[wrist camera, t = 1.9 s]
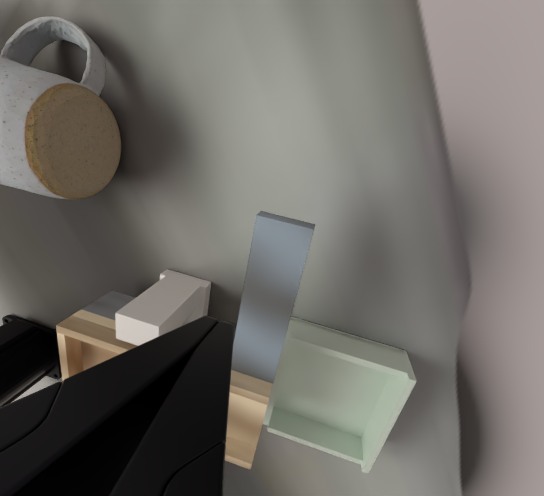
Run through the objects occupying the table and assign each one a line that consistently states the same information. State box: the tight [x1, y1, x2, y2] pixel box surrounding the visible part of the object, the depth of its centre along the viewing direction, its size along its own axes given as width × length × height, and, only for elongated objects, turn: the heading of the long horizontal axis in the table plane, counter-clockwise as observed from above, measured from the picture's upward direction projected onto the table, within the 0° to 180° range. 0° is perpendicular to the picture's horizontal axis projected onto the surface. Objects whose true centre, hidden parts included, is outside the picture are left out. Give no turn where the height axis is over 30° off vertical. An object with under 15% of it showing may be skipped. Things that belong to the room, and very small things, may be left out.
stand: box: [115, 269, 211, 346], centre depth 22 cm, size 12×4×6 cm, turn 168°
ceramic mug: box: [0, 16, 121, 199], centre depth 17 cm, size 11×8×8 cm
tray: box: [263, 317, 417, 474], centre depth 22 cm, size 10×9×3 cm
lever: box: [56, 211, 315, 470], centre depth 19 cm, size 18×15×5 cm
